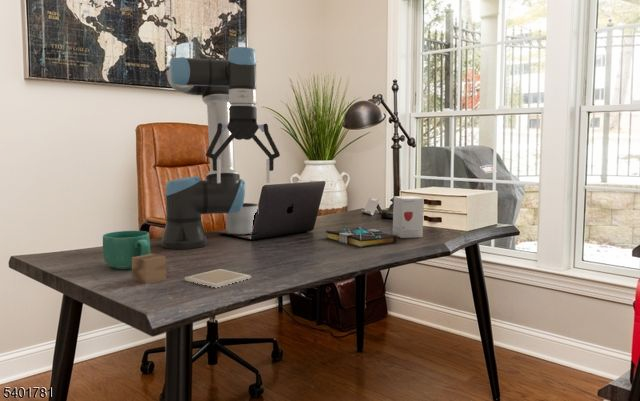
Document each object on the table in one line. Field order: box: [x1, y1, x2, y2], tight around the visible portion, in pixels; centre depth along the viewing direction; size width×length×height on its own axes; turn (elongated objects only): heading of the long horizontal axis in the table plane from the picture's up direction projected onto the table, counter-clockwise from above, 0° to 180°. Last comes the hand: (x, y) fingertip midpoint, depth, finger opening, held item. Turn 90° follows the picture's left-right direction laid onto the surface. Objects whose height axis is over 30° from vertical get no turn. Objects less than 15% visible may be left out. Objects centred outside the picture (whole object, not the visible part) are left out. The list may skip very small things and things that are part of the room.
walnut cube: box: [131, 253, 167, 284], centre depth 138 cm, size 6×6×6 cm
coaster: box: [184, 268, 252, 289], centre depth 139 cm, size 12×12×1 cm
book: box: [325, 226, 399, 249], centre depth 194 cm, size 22×17×5 cm
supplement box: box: [392, 195, 425, 239], centre depth 204 cm, size 9×9×15 cm
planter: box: [225, 202, 259, 235], centre depth 209 cm, size 12×13×11 cm
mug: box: [102, 230, 151, 270], centre depth 151 cm, size 17×13×10 cm
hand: (243, 182), depth 149 cm, fingers open, 13 cm apart
